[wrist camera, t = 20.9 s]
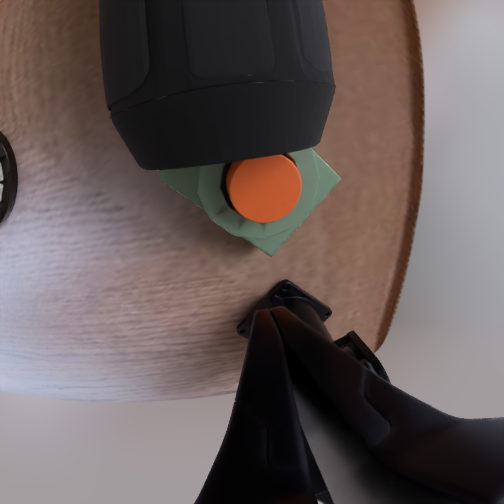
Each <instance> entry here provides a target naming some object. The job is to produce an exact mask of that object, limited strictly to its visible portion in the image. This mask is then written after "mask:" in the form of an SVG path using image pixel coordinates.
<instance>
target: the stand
mask: <svg viewBox="0 0 504 504" xmlns="http://www.w3.org/2000/svg"><path fill="white" fill-rule="evenodd" d="M0 163H1V166H2V173H3V180H2V181H0V184H2V185H3V192H2V200H1V201H0V224H1V223H2V222H3V221H4V220H5V219H6V218H7V217H8V215H9V214H10V212H11V210H12V208H13V205H14V203H15V199H16V194H17V185H18V174H17V165H16V160H15V156H14V153H13V150H12V148H11V145H10V143H9V142H8V140H7V138H6V137H5V136H4V135H3V134H2V133H1V132H0Z"/></svg>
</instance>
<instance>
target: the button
mask: <svg viewBox="0 0 504 504" xmlns="http://www.w3.org/2000/svg"><path fill="white" fill-rule="evenodd" d="M301 186H302V184H301V177H300V174H299V171H298V169H297V168H296V166H295V165H294V164H293V162H292V161H291V160H289V159H288V158H287V157H285V156H283V155H281V154H280V155H275V156H268V157H262V158H255V159H248V160H242V161H235V162H232V164H231V165H230V167H229V169H228V172H227V176H226V187H227V191H228V194H229V197H230V199H231V202H232V204H233V206H234V208H235V209H236V210H237V211H238V213H239V214H241V215H242V216H243V217H245V218H246V219H248V220H251V221H254V222H259V223H268V222H273V221H276V220H279V219H281V218H283V217H284V216H286V215H287V214H288V213H290V212H291V211H292V209H293V208H294V207H295V205H296V204H297V202H298V200H299V197H300V194H301Z"/></svg>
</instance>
